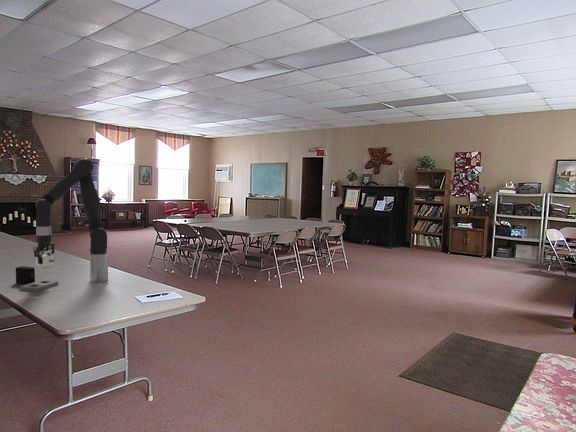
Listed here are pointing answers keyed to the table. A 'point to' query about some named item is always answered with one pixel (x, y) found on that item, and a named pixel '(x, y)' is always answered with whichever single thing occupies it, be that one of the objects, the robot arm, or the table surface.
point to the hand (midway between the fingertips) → (44, 262)
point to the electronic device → (25, 275)
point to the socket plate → (38, 285)
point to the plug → (45, 261)
